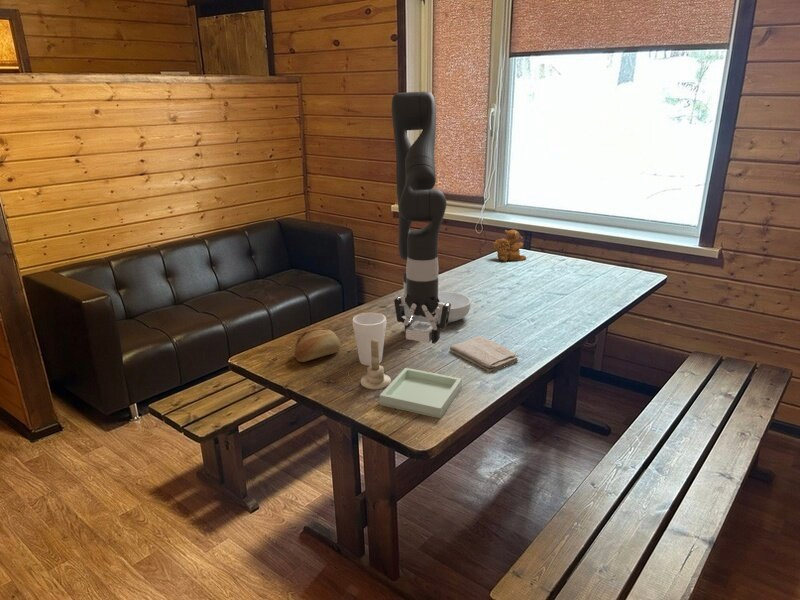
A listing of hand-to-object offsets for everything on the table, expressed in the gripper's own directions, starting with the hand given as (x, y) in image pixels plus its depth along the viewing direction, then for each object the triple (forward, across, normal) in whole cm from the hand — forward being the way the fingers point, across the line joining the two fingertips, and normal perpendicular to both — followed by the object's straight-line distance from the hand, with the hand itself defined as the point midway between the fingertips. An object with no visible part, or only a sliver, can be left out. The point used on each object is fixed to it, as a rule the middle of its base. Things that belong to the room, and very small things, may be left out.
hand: (422, 340), depth 142 cm
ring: (-1, 0, 0) cm, 1 cm away
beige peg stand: (+16, +14, -2) cm, 21 cm away
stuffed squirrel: (+15, +10, -128) cm, 129 cm away
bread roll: (+16, +37, -10) cm, 41 cm away
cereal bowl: (+16, +12, -51) cm, 55 cm away
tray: (+16, 0, 0) cm, 16 cm away
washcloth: (+16, -8, -28) cm, 34 cm away
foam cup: (+16, +21, -13) cm, 29 cm away
